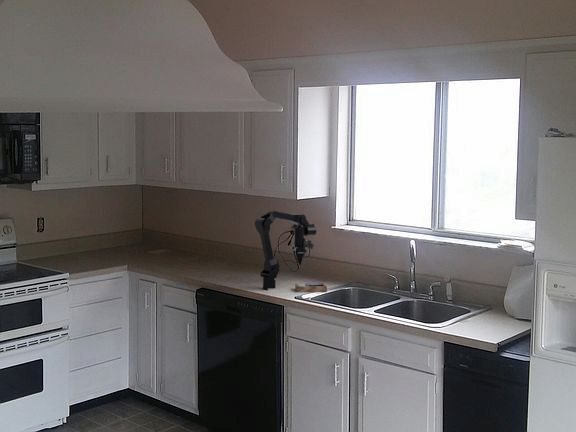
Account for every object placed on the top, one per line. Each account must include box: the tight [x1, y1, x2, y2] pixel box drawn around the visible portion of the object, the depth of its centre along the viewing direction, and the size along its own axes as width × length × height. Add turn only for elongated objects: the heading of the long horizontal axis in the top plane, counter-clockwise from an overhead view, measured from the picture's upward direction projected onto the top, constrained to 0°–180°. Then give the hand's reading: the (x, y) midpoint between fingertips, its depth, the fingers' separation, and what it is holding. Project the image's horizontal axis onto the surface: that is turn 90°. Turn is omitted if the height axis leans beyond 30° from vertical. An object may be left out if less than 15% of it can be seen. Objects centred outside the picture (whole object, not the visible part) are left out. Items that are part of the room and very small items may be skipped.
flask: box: [304, 282, 324, 286], centre depth 410 cm, size 9×3×11 cm
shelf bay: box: [294, 282, 328, 293], centre depth 406 cm, size 16×12×3 cm
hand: (298, 263), depth 425 cm, fingers open, 9 cm apart
